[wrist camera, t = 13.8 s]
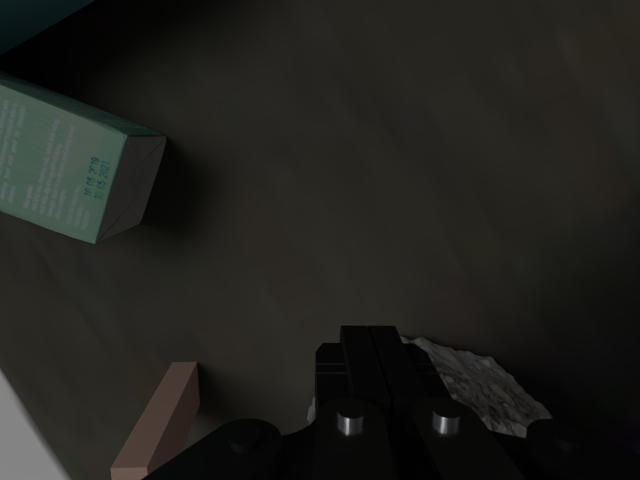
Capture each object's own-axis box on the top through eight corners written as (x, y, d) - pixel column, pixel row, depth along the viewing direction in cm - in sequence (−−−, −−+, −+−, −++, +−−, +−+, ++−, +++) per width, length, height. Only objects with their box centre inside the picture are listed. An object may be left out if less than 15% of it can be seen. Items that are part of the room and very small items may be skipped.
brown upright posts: (134, -113, 28) (17, -293, 17) (165, -113, 28) (70, -290, 17) (176, 405, 37) (117, 527, 25) (200, 404, 37) (152, 526, 25)
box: (-17, 62, 30) (-117, 38, 23) (169, 134, 32) (131, 132, 25) (-38, 160, 32) (-138, 167, 25) (141, 224, 34) (97, 248, 26)
